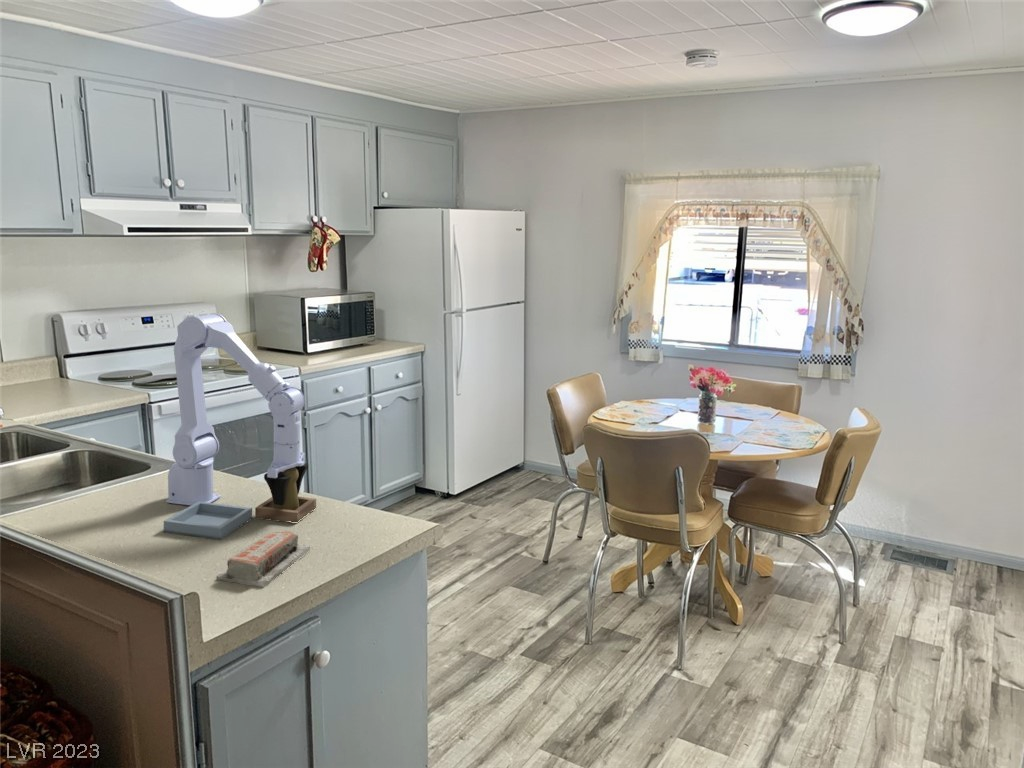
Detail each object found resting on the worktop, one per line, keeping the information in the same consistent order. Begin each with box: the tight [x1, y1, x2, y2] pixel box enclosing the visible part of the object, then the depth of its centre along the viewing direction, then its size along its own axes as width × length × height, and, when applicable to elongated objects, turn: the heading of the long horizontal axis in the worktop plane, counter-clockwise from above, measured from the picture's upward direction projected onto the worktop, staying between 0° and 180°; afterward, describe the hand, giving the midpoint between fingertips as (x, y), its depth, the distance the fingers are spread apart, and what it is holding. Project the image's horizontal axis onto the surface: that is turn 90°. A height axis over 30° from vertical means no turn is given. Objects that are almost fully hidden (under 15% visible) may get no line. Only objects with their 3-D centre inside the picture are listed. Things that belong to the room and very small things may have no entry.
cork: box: [274, 467, 299, 511], centre depth 179 cm, size 6×6×11 cm
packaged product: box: [216, 530, 311, 588], centre depth 152 cm, size 18×5×10 cm
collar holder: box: [254, 496, 317, 522], centre depth 180 cm, size 10×10×2 cm
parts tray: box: [163, 501, 253, 541], centre depth 170 cm, size 13×13×2 cm
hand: (286, 499), depth 180 cm, fingers open, 7 cm apart
